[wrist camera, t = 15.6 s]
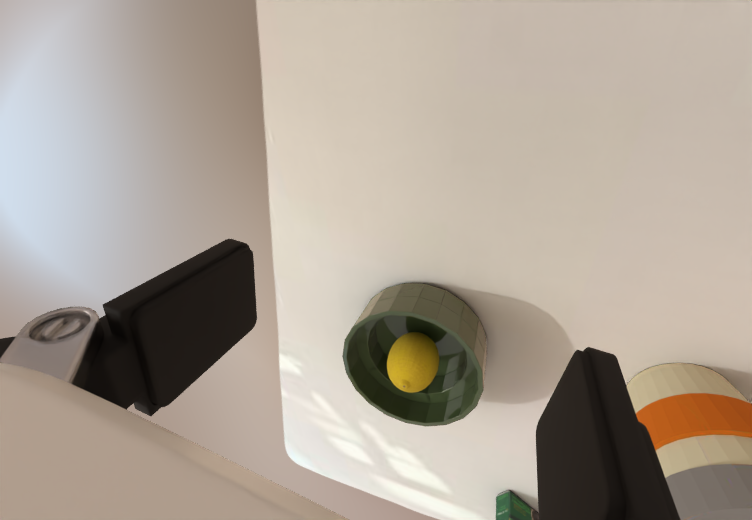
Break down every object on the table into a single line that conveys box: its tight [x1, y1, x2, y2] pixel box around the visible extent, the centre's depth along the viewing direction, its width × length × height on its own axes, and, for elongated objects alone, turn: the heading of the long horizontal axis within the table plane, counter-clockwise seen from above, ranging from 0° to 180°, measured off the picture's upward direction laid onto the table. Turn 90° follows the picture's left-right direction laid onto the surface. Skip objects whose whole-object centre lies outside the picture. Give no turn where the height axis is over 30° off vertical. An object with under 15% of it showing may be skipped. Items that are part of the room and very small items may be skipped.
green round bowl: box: [343, 283, 487, 426], centre depth 40 cm, size 15×15×6 cm
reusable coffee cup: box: [627, 363, 752, 520], centre depth 29 cm, size 13×13×15 cm
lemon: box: [387, 332, 439, 393], centre depth 39 cm, size 6×6×8 cm
